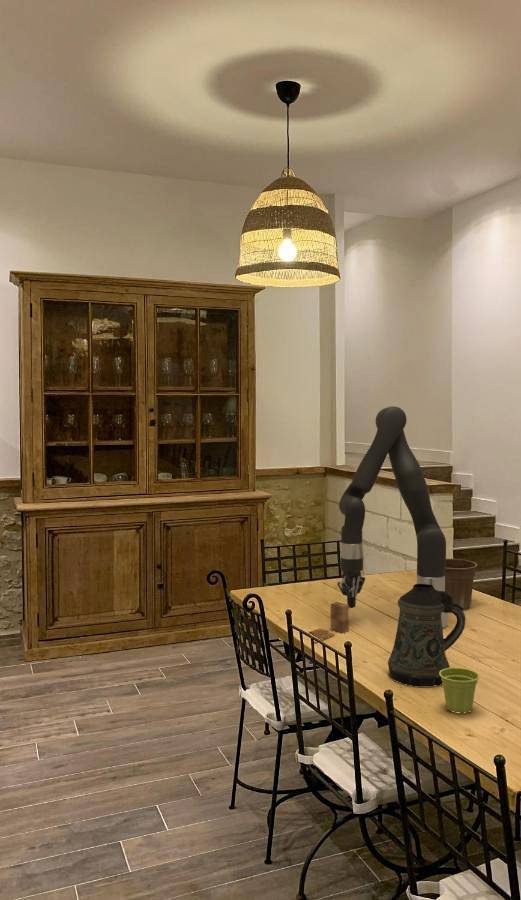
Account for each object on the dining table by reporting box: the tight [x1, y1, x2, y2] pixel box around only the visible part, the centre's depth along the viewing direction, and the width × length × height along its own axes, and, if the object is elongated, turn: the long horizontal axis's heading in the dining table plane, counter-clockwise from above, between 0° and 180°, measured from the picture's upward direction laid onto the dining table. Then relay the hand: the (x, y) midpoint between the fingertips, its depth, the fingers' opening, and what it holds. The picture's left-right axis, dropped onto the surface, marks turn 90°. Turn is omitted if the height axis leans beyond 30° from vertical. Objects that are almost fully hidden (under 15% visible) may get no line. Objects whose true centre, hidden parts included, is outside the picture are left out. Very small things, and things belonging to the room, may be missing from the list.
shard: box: [308, 628, 336, 644], centre depth 234 cm, size 11×8×2 cm
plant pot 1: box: [445, 558, 478, 611], centre depth 270 cm, size 16×16×16 cm
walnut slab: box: [330, 601, 350, 635], centre depth 241 cm, size 5×3×9 cm, turn 48°
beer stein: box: [387, 583, 467, 688], centre depth 200 cm, size 16×19×25 cm
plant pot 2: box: [439, 667, 480, 714], centre depth 178 cm, size 9×9×9 cm
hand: (351, 607), depth 245 cm, fingers closed
